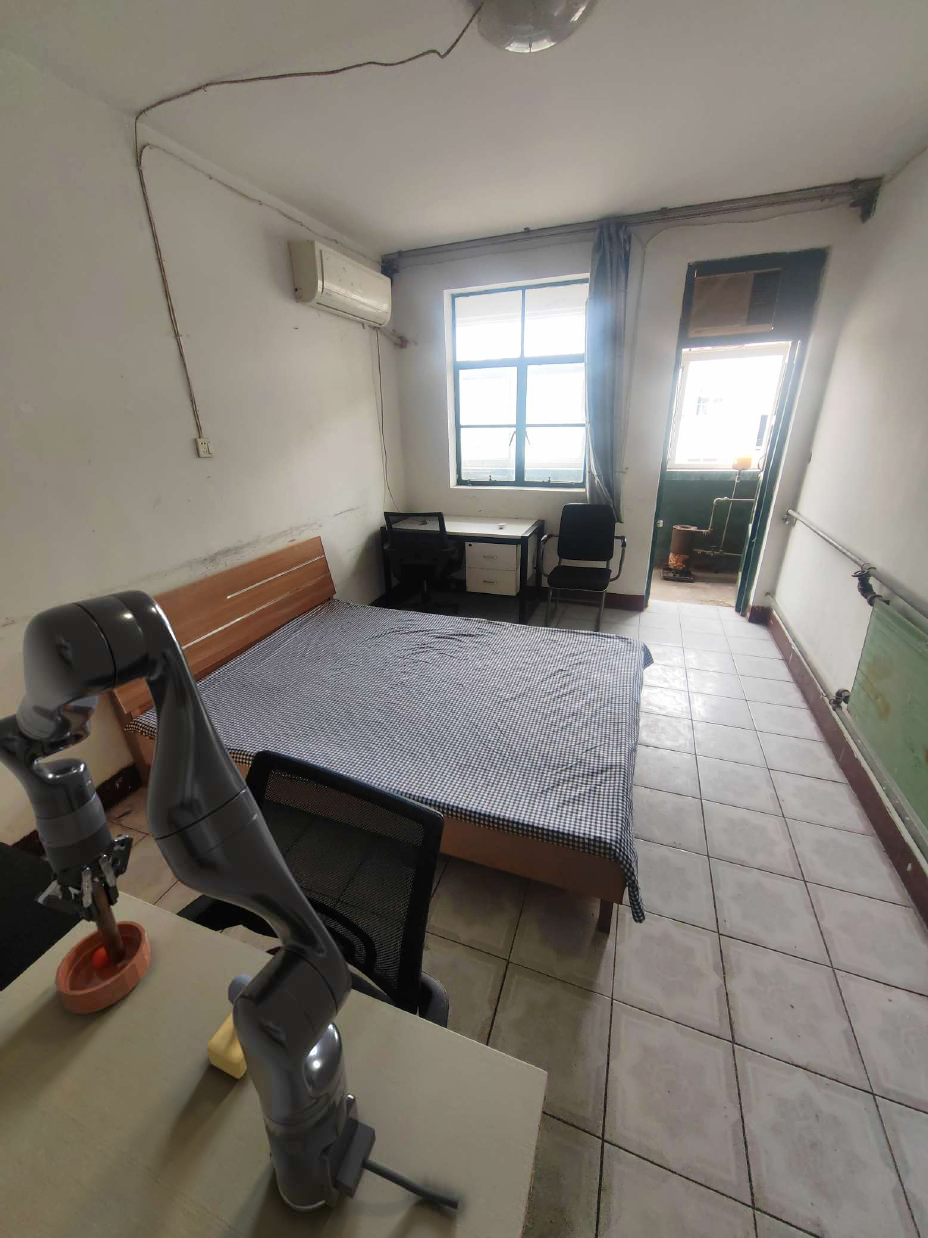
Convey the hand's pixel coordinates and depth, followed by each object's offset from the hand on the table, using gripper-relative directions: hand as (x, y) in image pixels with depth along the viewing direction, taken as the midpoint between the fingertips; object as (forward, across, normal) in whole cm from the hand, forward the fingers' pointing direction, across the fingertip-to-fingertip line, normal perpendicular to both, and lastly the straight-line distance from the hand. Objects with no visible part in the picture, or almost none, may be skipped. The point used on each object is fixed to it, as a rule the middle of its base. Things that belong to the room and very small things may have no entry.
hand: (102, 910), depth 76 cm
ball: (+11, -1, +3) cm, 12 cm away
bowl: (+13, -2, 0) cm, 13 cm away
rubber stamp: (+13, 0, -28) cm, 31 cm away
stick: (+11, 0, 0) cm, 11 cm away
